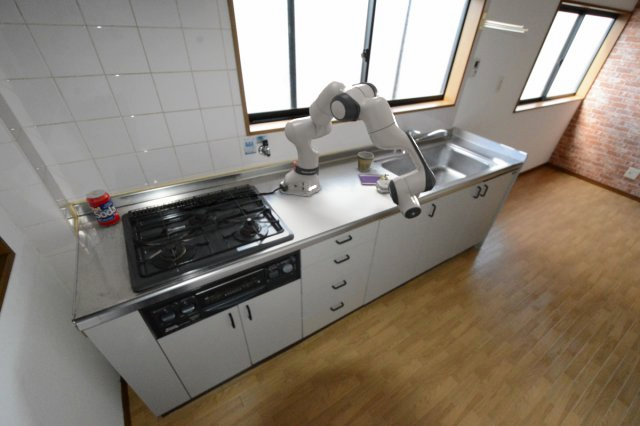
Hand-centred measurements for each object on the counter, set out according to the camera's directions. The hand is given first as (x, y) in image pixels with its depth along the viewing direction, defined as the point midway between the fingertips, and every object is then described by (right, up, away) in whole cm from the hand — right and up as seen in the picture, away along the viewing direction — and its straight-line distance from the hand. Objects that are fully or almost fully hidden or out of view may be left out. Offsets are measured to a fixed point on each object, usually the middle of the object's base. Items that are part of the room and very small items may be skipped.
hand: (393, 178), depth 134 cm
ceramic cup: (-8, +11, +40) cm, 43 cm away
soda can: (-130, -21, -14) cm, 132 cm away
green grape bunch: (-2, -5, +19) cm, 19 cm away
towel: (-5, +3, +28) cm, 29 cm away
